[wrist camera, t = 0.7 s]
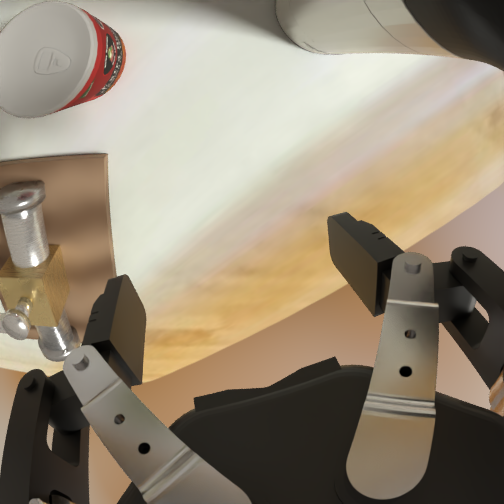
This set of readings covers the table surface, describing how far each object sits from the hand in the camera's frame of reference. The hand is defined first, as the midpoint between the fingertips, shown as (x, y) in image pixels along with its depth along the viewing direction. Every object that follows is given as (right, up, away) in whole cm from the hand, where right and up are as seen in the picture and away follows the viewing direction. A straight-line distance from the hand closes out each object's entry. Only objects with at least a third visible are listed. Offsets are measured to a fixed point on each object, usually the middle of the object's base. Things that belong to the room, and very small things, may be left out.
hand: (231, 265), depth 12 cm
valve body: (-23, -1, +18) cm, 29 cm away
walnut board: (-23, -1, +18) cm, 29 cm away
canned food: (-14, +17, +9) cm, 24 cm away
